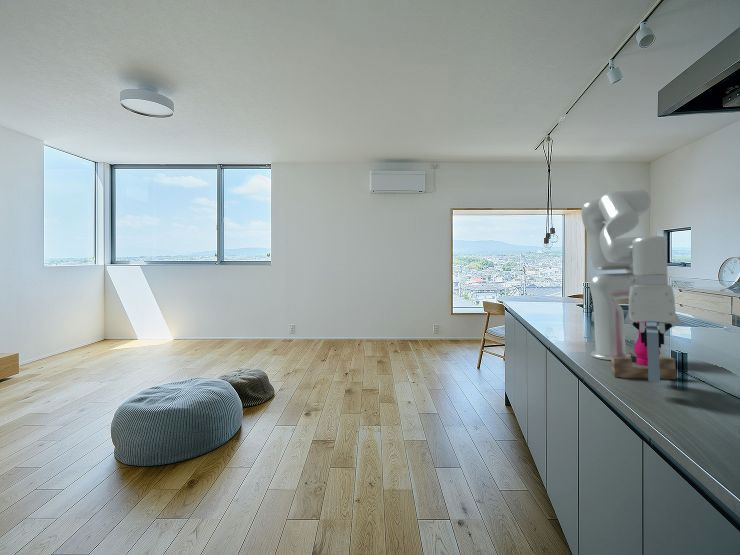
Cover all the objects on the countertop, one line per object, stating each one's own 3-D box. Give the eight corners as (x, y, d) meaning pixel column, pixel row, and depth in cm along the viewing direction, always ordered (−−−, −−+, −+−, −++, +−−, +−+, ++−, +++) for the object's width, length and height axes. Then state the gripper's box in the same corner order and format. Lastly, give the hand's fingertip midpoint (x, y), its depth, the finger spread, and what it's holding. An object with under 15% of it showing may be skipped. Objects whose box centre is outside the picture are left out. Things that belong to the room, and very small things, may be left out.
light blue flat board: (647, 364, 109) (646, 322, 108) (658, 365, 107) (656, 322, 107) (648, 380, 96) (646, 332, 95) (660, 382, 94) (658, 332, 94)
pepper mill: (665, 366, 122) (662, 307, 122) (641, 366, 123) (638, 308, 123) (653, 360, 129) (650, 305, 129) (630, 361, 131) (627, 306, 130)
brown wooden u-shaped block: (614, 377, 114) (613, 358, 114) (612, 375, 116) (611, 356, 116) (676, 379, 109) (675, 359, 109) (672, 376, 111) (671, 357, 111)
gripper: (614, 282, 102) (617, 346, 103) (690, 281, 93) (692, 352, 93) (616, 280, 108) (618, 341, 109) (687, 279, 99) (689, 345, 99)
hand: (652, 345), depth 101 cm, fingers closed on light blue flat board, 2 cm apart
